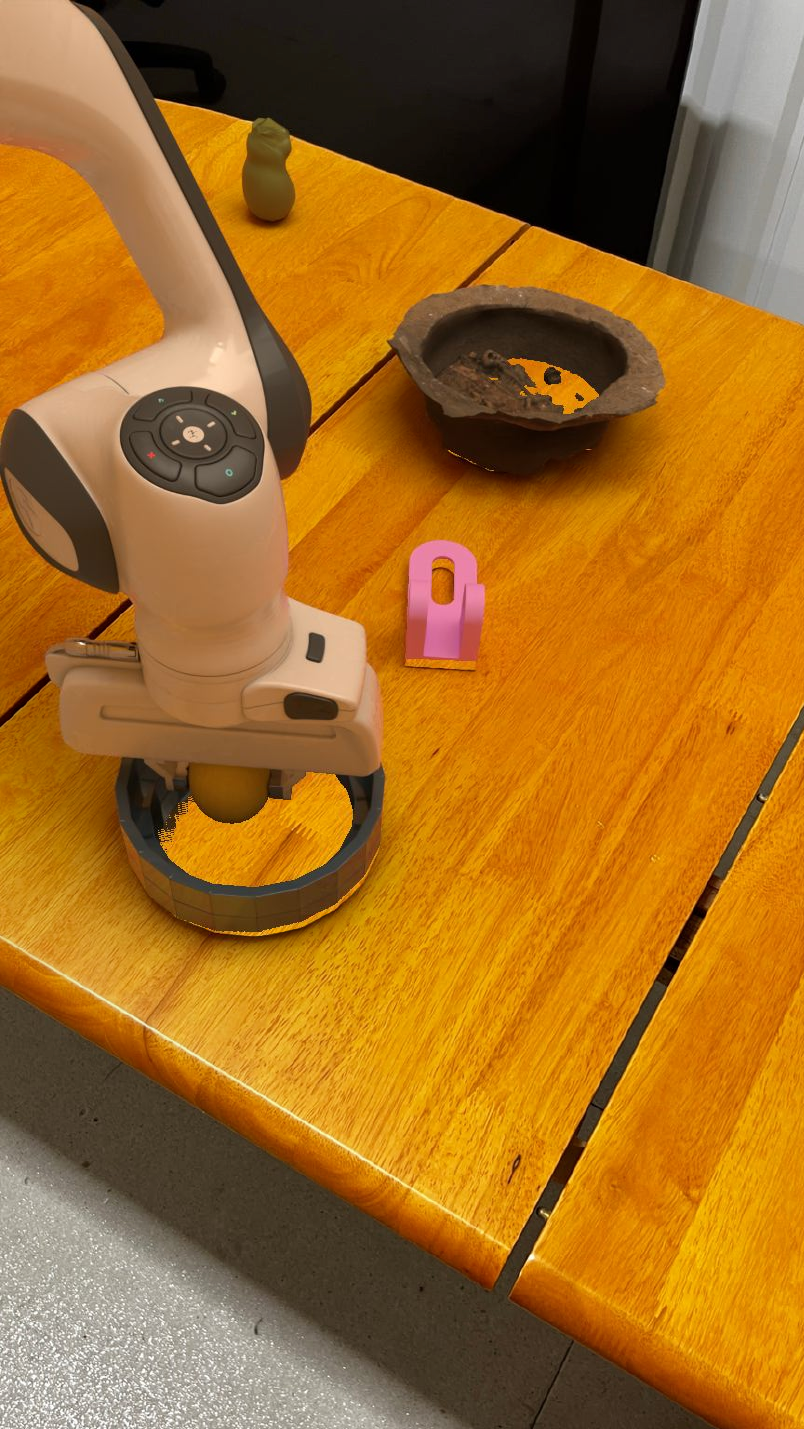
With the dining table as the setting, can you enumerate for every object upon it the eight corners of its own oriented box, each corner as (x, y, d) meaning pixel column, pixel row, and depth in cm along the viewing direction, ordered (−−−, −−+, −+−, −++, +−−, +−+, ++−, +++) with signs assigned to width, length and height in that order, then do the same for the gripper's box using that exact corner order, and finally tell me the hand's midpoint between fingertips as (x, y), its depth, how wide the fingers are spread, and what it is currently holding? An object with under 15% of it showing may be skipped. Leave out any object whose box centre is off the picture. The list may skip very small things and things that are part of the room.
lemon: (270, 775, 88) (264, 706, 81) (277, 840, 85) (272, 773, 78) (192, 782, 87) (180, 713, 80) (196, 848, 84) (184, 781, 77)
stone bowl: (456, 531, 105) (461, 439, 97) (350, 377, 119) (347, 286, 111) (702, 466, 112) (724, 376, 104) (574, 328, 126) (585, 240, 118)
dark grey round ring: (104, 931, 80) (89, 884, 76) (153, 722, 91) (143, 669, 86) (370, 952, 81) (373, 907, 76) (389, 742, 91) (393, 691, 86)
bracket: (475, 671, 96) (484, 609, 90) (404, 666, 96) (409, 604, 90) (475, 554, 104) (484, 491, 98) (409, 550, 103) (414, 486, 98)
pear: (234, 212, 130) (228, 116, 122) (273, 197, 133) (270, 102, 125) (266, 236, 128) (262, 140, 120) (306, 220, 131) (305, 125, 122)
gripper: (25, 677, 70) (67, 813, 81) (383, 707, 71) (375, 837, 82) (50, 597, 73) (87, 738, 85) (390, 627, 74) (382, 762, 85)
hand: (231, 787), depth 83 cm, fingers closed on lemon, 5 cm apart
